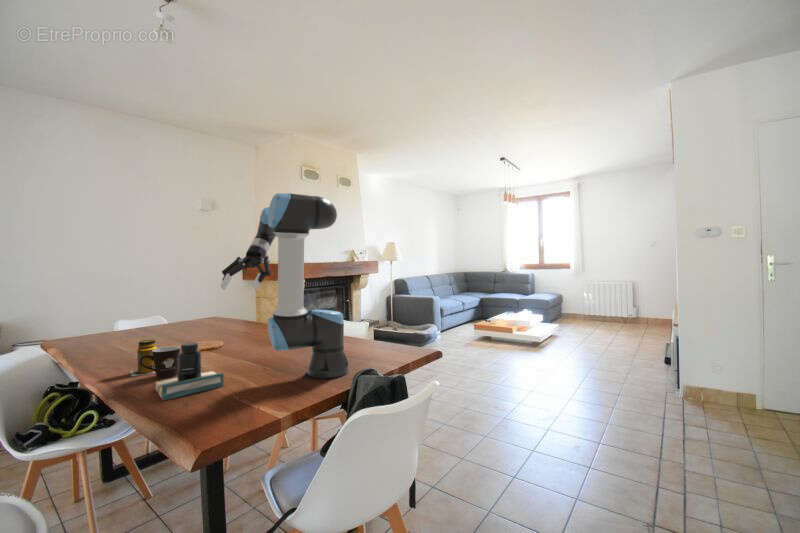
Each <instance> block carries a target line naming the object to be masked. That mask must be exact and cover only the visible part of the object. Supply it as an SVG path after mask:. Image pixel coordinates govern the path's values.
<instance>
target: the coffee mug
mask: <svg viewBox="0 0 800 533" xmlns="http://www.w3.org/2000/svg"><path fill="white" fill-rule="evenodd" d="M152 352H153V356H151V355H146V356H143V357H142V358H141V359H140V364H141V365H142V366H143V367H145V368H148V369H150V370H153V371H155V375H156V376H155V377H156V379H159V380H161V379H163V380H166V379H169V378H170V379H171V378H175V377H176V376H177V360H178V355H179V354H180V353H181V346H179V345H178V346H177V345H173V346H172V345H169V346H162V347H157V349H154V350H152ZM145 357H150V358H152V360H153V361H154V365H155V369H153V368H150V367H147V366H145V365H143V364H142V359H143V358H145Z"/></svg>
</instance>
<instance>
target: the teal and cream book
mask: <svg viewBox="0 0 800 533" xmlns="http://www.w3.org/2000/svg"><path fill="white" fill-rule="evenodd" d="M221 387H224V372H220V373H217V372H215V371H214V370H209V371H204V372H201V377H199V378H194V379H190V380H185V381H180V382H178V379H177V377H172V378H170V379H169V378H167V379H163V380H159V381H155V390H156V392H157V394H158V395H159V397H160V398H161V400H162V401H166V400H171V399H175V398H178V397H183V396H184V397H185V396H187V395H192V394H195V393H196V394H197V393H201V392H204V391H205V392H206V391H209V390H214V389H218V388H221Z"/></svg>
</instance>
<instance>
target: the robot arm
mask: <svg viewBox="0 0 800 533" xmlns="http://www.w3.org/2000/svg"><path fill="white" fill-rule="evenodd" d="M337 218H338V213H337V208H336V206H335V205H334V204H333V203H332V202H331V201H330V200H329V199H327V198H324V197H321V196H319V195H318V196H317V195H308V194H307V195H306V194H299V193H298V194H297V193H288V192H287V193H286V192H285V193H282V192H281V193H280V192H279V193H275V194H274V195H273V196H272V198H271V201H270V203H269V206H267V207H264V208H263V209H262V210H261V213H260V216H259V223H258V227H257V233H256V235H255V237H254V238H253V239H252V242H251V243H250V246H248V249H247V251H246V253H245V257H243V258H241V257H240V256H238V257H237V258H236V259H235V260H234V261H233V262H231V263H230V264H229V265H227V267H225V268H224V269H223V270H222V271H221V273H222V274H223V275H222V276H223V278H222V279H221V280H222V281H221V283H220V285H219V286H220V287H221V289H222V291H225V290H226V289H227V287H228V285H229V283H230V282H231V280H232V277H233V276H234V275H236V274H237V273H240V272H241V271H243V270H246V269H249V268H253V269H254V268H256V269H258V271H259V272H258V273H257V276H256V277H255V279H254V281H253V284H252V287H253V289H254V290H255V291H256V290H258V288H259V285H261V283H262V282H264V279H265V278H266V277H267V276H268V277H271V270H270V265H269V264H270V259H269V258H268V256H267V254H268V252H269V250H270V247H271V245H272V244H273V242H274V240H275V238H276V237H277V308H275V309H274V310H273V312H272V317H269V318H268V320H267V332H268V336H269V340H270V343H271V346H272V348H273V349H274V350H275V351H277V352H281V351H283V352H284V351H286V352H288V351H292V350H293V351H294V350H298V349H306V348H311V349H312V351H311V356H310V359H309V362H308V365H307V375H308V376H309V377H310V378H314V379H332V378H333V379H335V378H338V377H342V376H344V375H347V374H348V373H349V372H350V365H349V361H348V358H347V356H346V352H345V344H344V343H345V341H344V340H345V338H344V337H345V336H344V335H345V334H344V331H345V330H344V329H345V328H344V326H345V323H344V322H345V321H344V315H343V313H342V312H340V311H338V310H337V311H336V310H330V309H312V310H311V312H310V314H309V312H308V310H307V309H306V308H305V307H304V297H305V296H304V295H305V294H304V287H305V286H304V285H305V284H304V283H305V282H304V280H305V279H304V278H305V277H304V276H305V239H306V238H307V237H308V236H309V235H310V231H311V230H323V229H324V230H325V229H328V228H330V227H332V226H333V225H334V224H335V223H336V221H337ZM261 264H264V265H263V266H264V270H263V268H262V266H261Z"/></svg>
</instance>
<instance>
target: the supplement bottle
mask: <svg viewBox="0 0 800 533" xmlns="http://www.w3.org/2000/svg"><path fill="white" fill-rule="evenodd" d="M198 349H199V343H198V342H187V343H183V344H181V345H180V354H179V355H178V360H177V375H176V376H177V377H176V378H177V379H178V382H180V381H185V380H190V379H194V378H199V377H201V373H202V352H201V351H200V350H198Z"/></svg>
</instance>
